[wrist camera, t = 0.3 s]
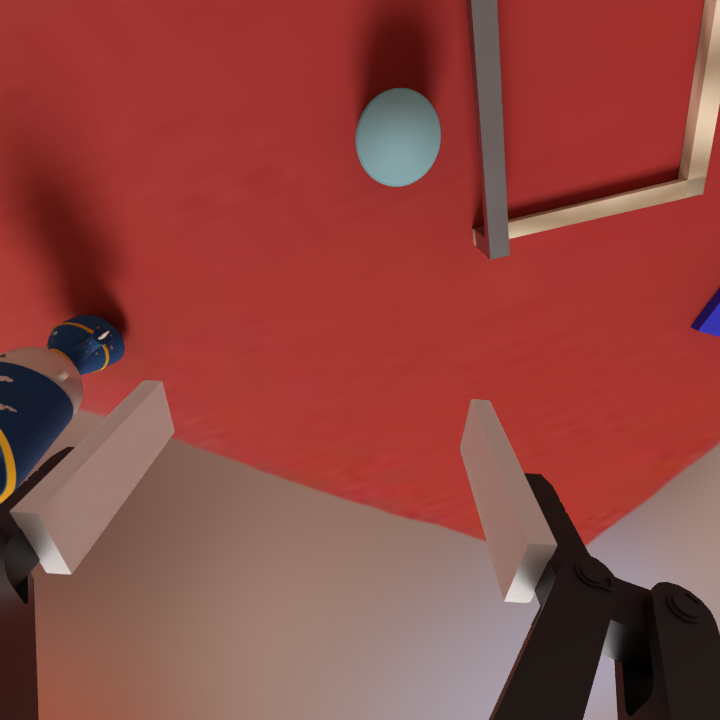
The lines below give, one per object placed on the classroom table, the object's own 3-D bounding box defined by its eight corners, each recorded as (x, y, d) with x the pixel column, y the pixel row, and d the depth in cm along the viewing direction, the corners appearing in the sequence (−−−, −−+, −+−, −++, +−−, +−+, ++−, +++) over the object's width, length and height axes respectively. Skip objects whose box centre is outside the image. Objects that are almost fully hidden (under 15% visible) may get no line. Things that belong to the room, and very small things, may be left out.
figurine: (117, 278, 40) (-80, 374, 23) (181, 343, 44) (54, 469, 26) (47, 336, 44) (-168, 456, 26) (111, 392, 48) (-40, 530, 30)
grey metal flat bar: (446, -42, 27) (464, -90, 22) (468, -49, 27) (492, -100, 22) (473, 244, 37) (490, 259, 32) (489, 240, 37) (509, 255, 32)
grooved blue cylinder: (350, 110, 32) (345, 100, 26) (424, 89, 31) (436, 73, 25) (367, 189, 35) (366, 196, 29) (435, 171, 34) (448, 175, 28)
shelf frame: (446, -41, 27) (449, -48, 26) (750, -145, 25) (767, -158, 23) (473, 243, 37) (476, 246, 36) (692, 192, 34) (702, 194, 33)
